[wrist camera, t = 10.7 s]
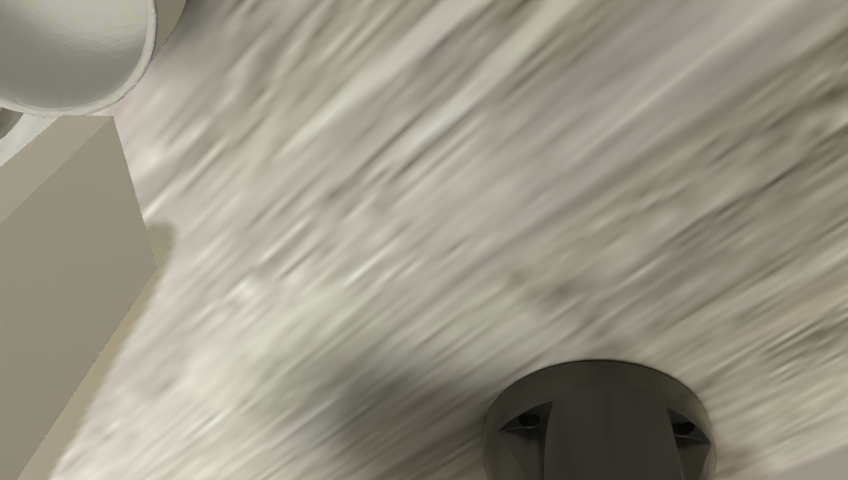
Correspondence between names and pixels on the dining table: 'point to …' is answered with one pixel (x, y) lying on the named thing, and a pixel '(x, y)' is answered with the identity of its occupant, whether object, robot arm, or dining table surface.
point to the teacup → (76, 53)
